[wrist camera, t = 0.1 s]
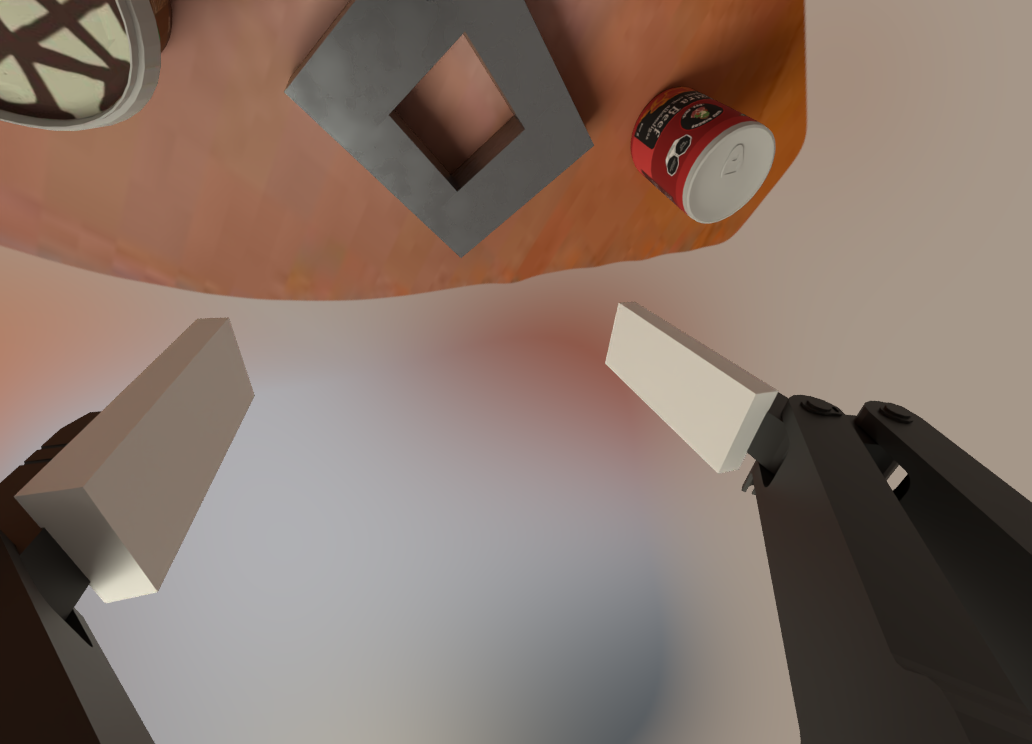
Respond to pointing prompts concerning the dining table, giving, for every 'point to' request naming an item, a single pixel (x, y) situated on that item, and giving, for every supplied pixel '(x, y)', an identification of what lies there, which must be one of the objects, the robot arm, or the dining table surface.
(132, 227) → the dining table surface
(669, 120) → the canned food
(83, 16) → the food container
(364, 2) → the plate
